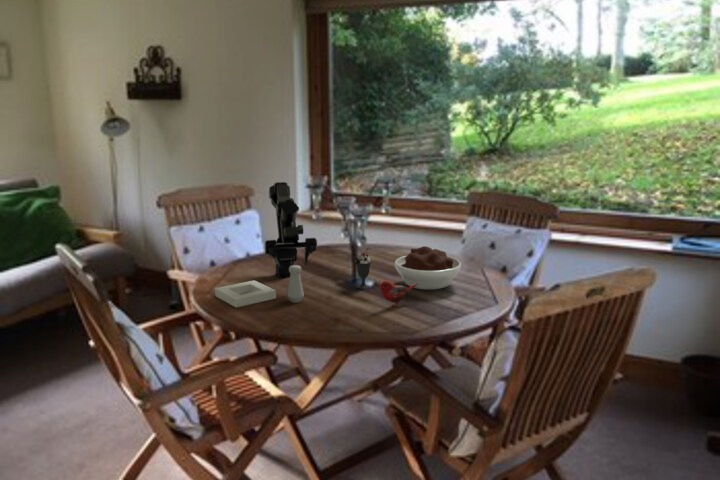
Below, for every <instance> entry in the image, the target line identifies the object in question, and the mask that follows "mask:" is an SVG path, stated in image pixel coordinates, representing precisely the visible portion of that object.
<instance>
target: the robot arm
mask: <svg viewBox="0 0 720 480" xmlns="http://www.w3.org/2000/svg"><path fill="white" fill-rule="evenodd" d="M268 199H269V200H270V203H271V205H272V206H273V208H274V209H275V214H276V215H275V216H276V225H277V234H278V236H277V239H267V240H265V241H264V253H265V254H266V255H268V256H269V257H270V256H271V257H272V258H273V261H274V263H276V264H275V273H274V275H275V276H277V277H279V278H282V279H285V278H290V275H291V273H290V272H289V267H290V266H292V265H295V262H296V261H297V260H298V249H302V248H304V265H305V266H307V265H308V260H309V257H310V254H313V252H314V253H315V251H317V246H318V240H317V238H316V237H305V240H304V241H302V242H301V241H300V236H299V235H303V234H304V225H303V224H298V225H297V221H296V220H297V218H298V217H297V216H298V213H299V211H300V207H299V206H298V204H297V203H296V202H295V200H294V198H292V197H291V186H289V185H288V182H285V181H281V182H280V181H278V182H277V181H276V182H274V184H273V185H271V186H269V189H268ZM299 241H300V242H299Z"/></svg>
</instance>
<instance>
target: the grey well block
mask: <svg viewBox="0 0 720 480" xmlns="http://www.w3.org/2000/svg"><path fill="white" fill-rule="evenodd" d="M214 291H215V293H214V294H215V297H216V298H218V299H220V300H222V301H223V302H226V303H227V304H228V305H230V306H232V307H235V308H241V307H244V306H249V305H254V304H257V303H261V302H266V301H271V300H275V299H277V292H276V291H277V290H276V289H273V288H271V287H269V286H267V285H265V284H263V283H261V282H259V281H257V280H255V279H254V280H249V281H245V282H240V283H239V282H238V283H235V284H230V285H225V286H220V287H215V288H214Z"/></svg>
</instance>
